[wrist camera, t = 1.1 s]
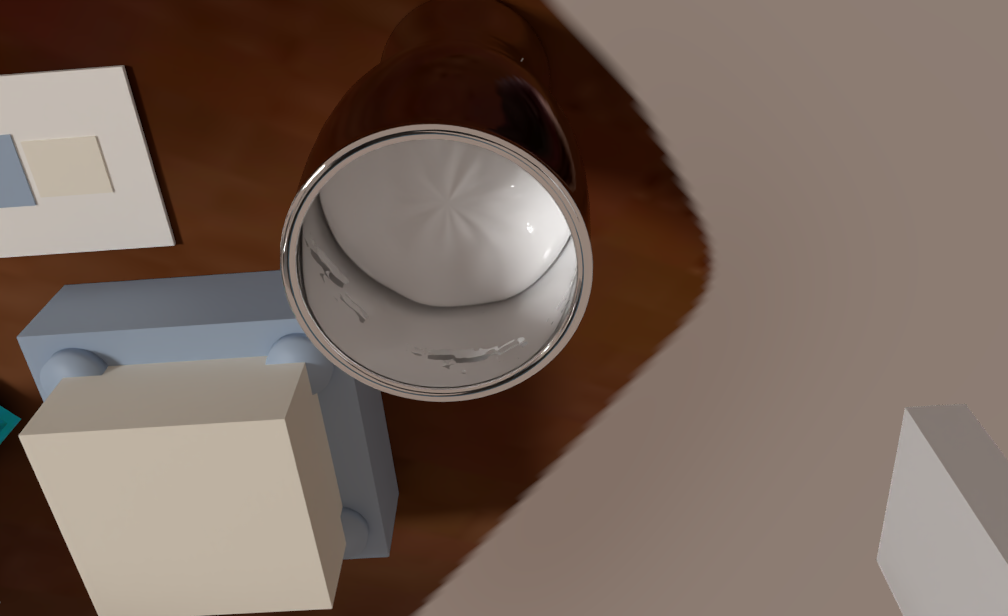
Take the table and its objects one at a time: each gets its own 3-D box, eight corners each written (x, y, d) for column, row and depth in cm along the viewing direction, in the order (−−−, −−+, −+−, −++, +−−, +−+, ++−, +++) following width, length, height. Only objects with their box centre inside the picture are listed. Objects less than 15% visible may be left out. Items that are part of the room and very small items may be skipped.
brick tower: (147, 507, 41) (75, 649, 34) (64, 285, 35) (-43, 401, 28) (398, 493, 41) (377, 633, 34) (357, 264, 35) (321, 378, 28)
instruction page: (-71, 260, 35) (-75, 263, 35) (-149, 86, 31) (-155, 88, 31) (176, 243, 34) (173, 246, 34) (123, 65, 31) (121, 67, 31)
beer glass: (476, 208, 34) (458, 460, 21) (328, 90, 31) (204, 290, 18) (602, 71, 31) (673, 262, 18) (451, -67, 29) (407, 35, 16)
